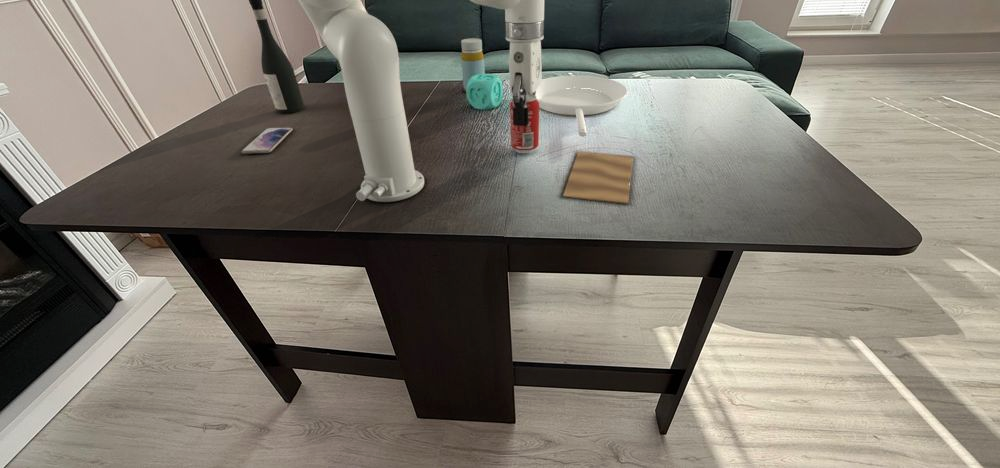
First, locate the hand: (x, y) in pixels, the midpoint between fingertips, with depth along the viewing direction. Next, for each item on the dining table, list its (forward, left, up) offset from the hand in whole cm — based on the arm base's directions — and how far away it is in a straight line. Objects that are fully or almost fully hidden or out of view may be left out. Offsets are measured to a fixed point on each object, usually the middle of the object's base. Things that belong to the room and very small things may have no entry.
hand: (524, 118), depth 94 cm
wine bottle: (+14, +76, -8) cm, 78 cm away
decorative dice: (+29, +19, -8) cm, 35 cm away
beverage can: (0, 0, -7) cm, 7 cm away
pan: (+28, -8, -8) cm, 30 cm away
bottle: (+42, +27, -8) cm, 50 cm away
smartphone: (-8, +65, -8) cm, 66 cm away
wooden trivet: (-8, -18, -8) cm, 21 cm away
